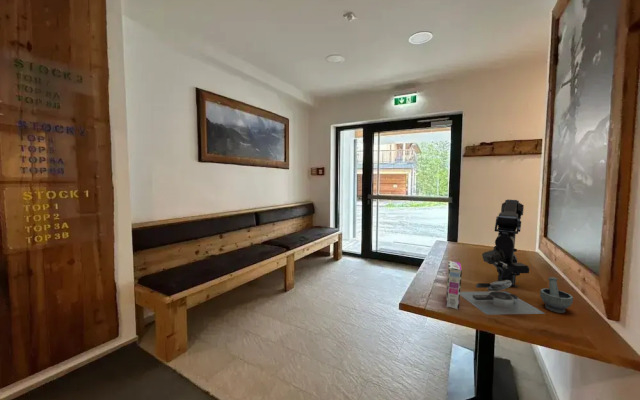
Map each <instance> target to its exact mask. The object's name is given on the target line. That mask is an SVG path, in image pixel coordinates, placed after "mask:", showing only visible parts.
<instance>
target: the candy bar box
mask: <svg viewBox="0 0 640 400" xmlns="http://www.w3.org/2000/svg"><path fill="white" fill-rule="evenodd" d="M462 274H463V267H462V264H461V262H460V261H459V262H457V261H451V260H448V266H447V277H446V290H445V292H446V293H445V308H449V309H455V310H460V300H461V295H460V292H461V290H462V289H461V286H462V277H463V275H462Z"/></svg>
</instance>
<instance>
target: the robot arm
mask: <svg viewBox="0 0 640 400" xmlns="http://www.w3.org/2000/svg"><path fill="white" fill-rule="evenodd" d="M524 207H525V206H524V204H522V203H521V202H520V201H519V200H518V199H505V200H504V202H502V203H501V209H500V212H499V213H498V216H496V219H495V225H494V232H495V233H496V232H498V235H497V236H496V238H495V240H494V244H495V245H494V247H493V249H491V250H488V251H484V252H483V253H481V255H482V260H483V262H485V263H487V264H489V265H493V266H494V267H495V268H496V272H497V274H498V275H497V281H499V280H510V281H511V283H512V285H511V286H510V287H509V288H518V285H516V278H517V277H518V276H520V275H521V274H530V267H529V266H528V265H526V264H524V263H522V262H518V257H517V256H516V254H515V252H518V251H517V250H518V249H517V248H515V244H516V235H518V234H519V233H520V232H521V228H522V227H521V226H522V221H521V219H522V216H523V215H524V210H525V209H524Z"/></svg>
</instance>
